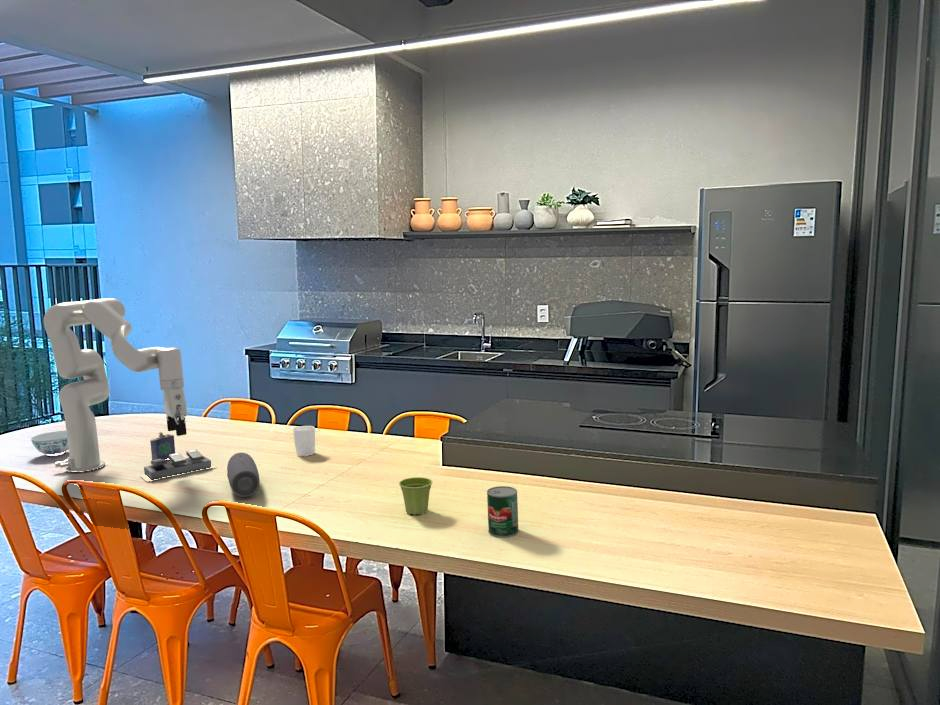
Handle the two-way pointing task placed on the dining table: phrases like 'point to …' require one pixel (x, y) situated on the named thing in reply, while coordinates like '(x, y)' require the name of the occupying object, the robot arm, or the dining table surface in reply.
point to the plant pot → (416, 494)
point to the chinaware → (51, 442)
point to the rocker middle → (177, 458)
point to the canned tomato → (502, 511)
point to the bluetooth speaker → (243, 475)
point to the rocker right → (194, 455)
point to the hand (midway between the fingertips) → (177, 432)
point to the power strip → (176, 468)
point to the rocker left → (159, 462)
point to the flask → (162, 446)
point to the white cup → (304, 440)
